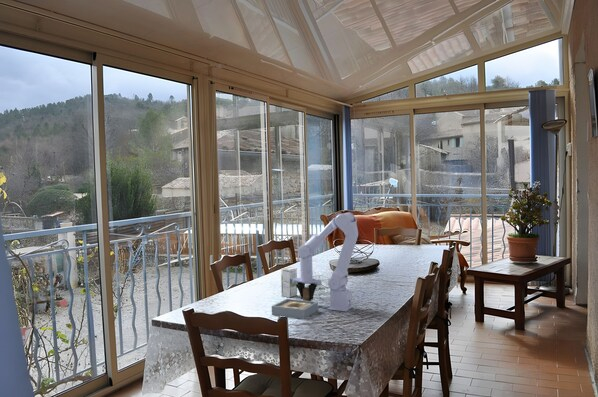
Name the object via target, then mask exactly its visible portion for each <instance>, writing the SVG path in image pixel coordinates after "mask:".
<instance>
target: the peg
mask: <svg viewBox="0 0 598 397" xmlns="http://www.w3.org/2000/svg"><path fill="white" fill-rule="evenodd" d="M302 300H304V301H312V300H310V293H309V287H308V286H307V287H306V286H305V288H303V299H302Z"/></svg>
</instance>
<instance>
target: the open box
mask: <svg viewBox="0 0 598 397" xmlns="http://www.w3.org/2000/svg"><path fill="white" fill-rule="evenodd" d="M290 301H293V302H302V303H311V305H310V306H308V307H306V308H304V309H298V308H289V307H281V305H283V304H285V303H287V302H290ZM317 312H319V302H318V301H313V300H311V301H304V300H303V299H295V298H285V299H283V300H281V301H279V302H277V303H275V304H273V305H271V315H272V316H279V317H284V316H287V317H286V318H293V319H301V320H305V319H307V318H308V317H310V316H312V315H314V314H315V313H317Z"/></svg>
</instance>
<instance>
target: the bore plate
mask: <svg viewBox="0 0 598 397" xmlns="http://www.w3.org/2000/svg"><path fill="white" fill-rule="evenodd" d="M310 305H311V303H302V302H293V301H290V302H287V303H285V304H283V305H281V307H289V308H298V309H304V308H306V307H308V306H310Z"/></svg>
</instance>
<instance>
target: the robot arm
mask: <svg viewBox="0 0 598 397" xmlns="http://www.w3.org/2000/svg"><path fill="white" fill-rule="evenodd" d="M357 221H358V219H357V218H356V217H355V215H354V213H353V212H344V213H339V214H337V215H336V217H335V216H334V217H333V218H332V219H331V220H330V222H328V224H326V226H325V227H324V228H323V229H322V230H321V231H320V232H319V233H314V234H311V235H310V238H309V239H308V240H307V241H304V242H303V243H304V245H300V246H299V248H298V249H297V254H298V256H299V265H300V266H299V268H300V269H299V272H300V276H299V277H297V278H293V279H292V283H297V284H296V287H297V291H298V293H299V296H300V300H303V288H305V287H306V284H307V287H309V293H310V300H311V301H313V299H314V294H315V293H316V289H317V287H318V286H321V285H322V280H321V279H316V278H313V277H314V276H313V255H314V254H315V252H316V251H317V250H318V249H319V248H320V247H321V246H322V245H323V244H324V240H325V239H326V238H327V237H328V236H329V235H330V234H331V233H333V231H335V230H337V229H339V230H341V232H343V233H344V236H345V237H344V241H343V244H342V247H341V250H340V255H339V257H338V260H337V263H336V265H335V266H336V267H335V268H334V270H333V272H332V274H331V276H329V278H328V281H327V286H328V288H329V293H330V296H329V300H330V306H328V307H327V308H326V309H327V310H331V311H339V312H348V311H349V310H351V309H353V294H352V290H350V289H349V290H348V289H347V287H346V285H347V284H348V283H349V279H348V275H349V270H348V269H349V266H350V263H351V261H352V260H351V259H352V256H353V252H354V249H355V247H356V243H357V240H358V238H359V229H358V225H357Z"/></svg>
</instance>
